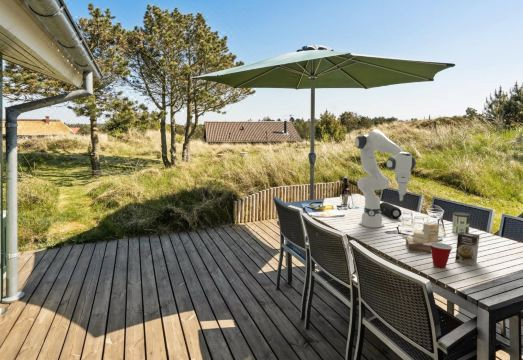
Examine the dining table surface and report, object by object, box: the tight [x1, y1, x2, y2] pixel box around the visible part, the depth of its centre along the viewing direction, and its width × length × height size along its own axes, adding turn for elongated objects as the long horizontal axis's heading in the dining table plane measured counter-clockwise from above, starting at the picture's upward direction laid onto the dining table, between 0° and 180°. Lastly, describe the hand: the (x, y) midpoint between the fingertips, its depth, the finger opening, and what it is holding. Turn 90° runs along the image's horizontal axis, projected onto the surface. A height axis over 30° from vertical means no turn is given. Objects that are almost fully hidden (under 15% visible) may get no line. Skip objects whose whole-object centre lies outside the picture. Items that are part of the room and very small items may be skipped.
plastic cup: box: [430, 242, 454, 269], centre depth 161 cm, size 11×11×12 cm
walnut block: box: [405, 237, 432, 254], centre depth 187 cm, size 12×12×5 cm
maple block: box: [412, 230, 424, 243], centre depth 186 cm, size 5×5×6 cm
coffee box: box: [455, 232, 480, 267], centre depth 165 cm, size 9×6×16 cm
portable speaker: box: [380, 201, 403, 219], centre depth 265 cm, size 26×10×10 cm, turn 4°
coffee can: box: [451, 211, 471, 235], centre depth 215 cm, size 10×10×14 cm
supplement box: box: [422, 222, 440, 243], centre depth 195 cm, size 8×5×13 cm, turn 105°
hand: (400, 198), depth 193 cm, fingers open, 8 cm apart
